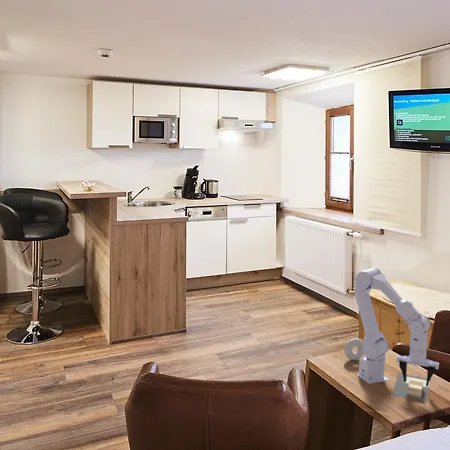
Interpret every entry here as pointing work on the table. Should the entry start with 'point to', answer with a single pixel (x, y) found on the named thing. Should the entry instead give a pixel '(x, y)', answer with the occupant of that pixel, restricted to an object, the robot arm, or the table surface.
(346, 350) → the donut
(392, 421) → the table surface
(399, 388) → the mat
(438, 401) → the table surface
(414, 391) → the beige wooden block
